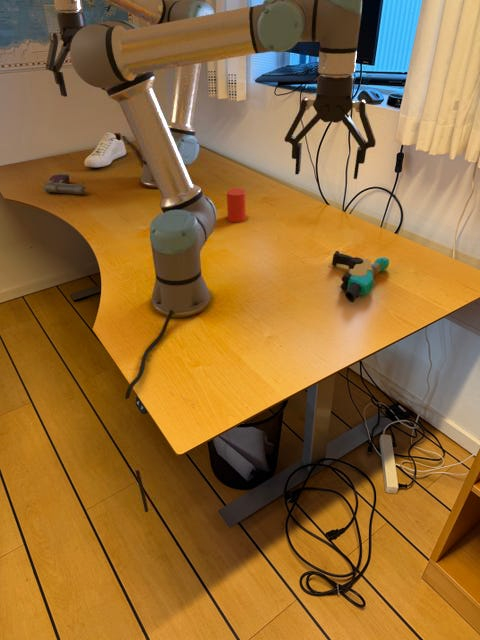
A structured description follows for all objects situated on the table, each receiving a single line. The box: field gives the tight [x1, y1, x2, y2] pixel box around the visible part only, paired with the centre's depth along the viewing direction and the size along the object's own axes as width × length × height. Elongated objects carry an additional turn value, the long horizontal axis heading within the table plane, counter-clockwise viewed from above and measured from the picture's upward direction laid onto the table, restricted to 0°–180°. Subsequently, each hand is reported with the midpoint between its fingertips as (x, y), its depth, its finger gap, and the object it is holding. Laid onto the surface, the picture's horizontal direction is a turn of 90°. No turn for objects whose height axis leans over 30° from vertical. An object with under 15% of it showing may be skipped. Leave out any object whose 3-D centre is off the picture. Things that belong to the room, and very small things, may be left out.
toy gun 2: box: [331, 250, 390, 303], centre depth 132 cm, size 4×26×15 cm
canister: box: [226, 188, 247, 223], centre depth 166 cm, size 6×6×10 cm
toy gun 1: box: [42, 173, 87, 195], centre depth 192 cm, size 4×19×15 cm
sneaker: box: [83, 131, 127, 169], centre depth 218 cm, size 10×29×12 cm, turn 163°
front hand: (326, 174), depth 112 cm, fingers open, 13 cm apart
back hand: (84, 92), depth 148 cm, fingers open, 13 cm apart
